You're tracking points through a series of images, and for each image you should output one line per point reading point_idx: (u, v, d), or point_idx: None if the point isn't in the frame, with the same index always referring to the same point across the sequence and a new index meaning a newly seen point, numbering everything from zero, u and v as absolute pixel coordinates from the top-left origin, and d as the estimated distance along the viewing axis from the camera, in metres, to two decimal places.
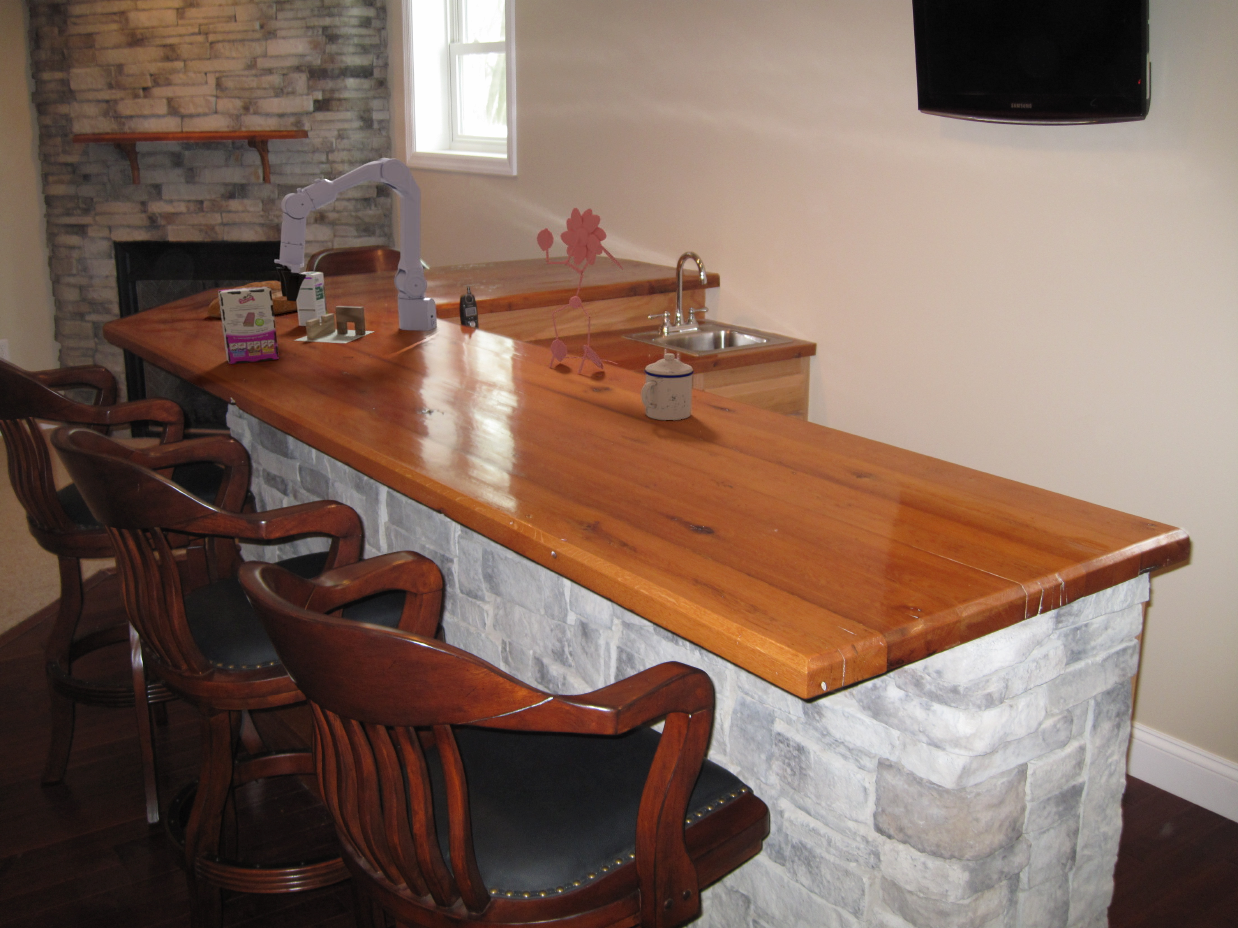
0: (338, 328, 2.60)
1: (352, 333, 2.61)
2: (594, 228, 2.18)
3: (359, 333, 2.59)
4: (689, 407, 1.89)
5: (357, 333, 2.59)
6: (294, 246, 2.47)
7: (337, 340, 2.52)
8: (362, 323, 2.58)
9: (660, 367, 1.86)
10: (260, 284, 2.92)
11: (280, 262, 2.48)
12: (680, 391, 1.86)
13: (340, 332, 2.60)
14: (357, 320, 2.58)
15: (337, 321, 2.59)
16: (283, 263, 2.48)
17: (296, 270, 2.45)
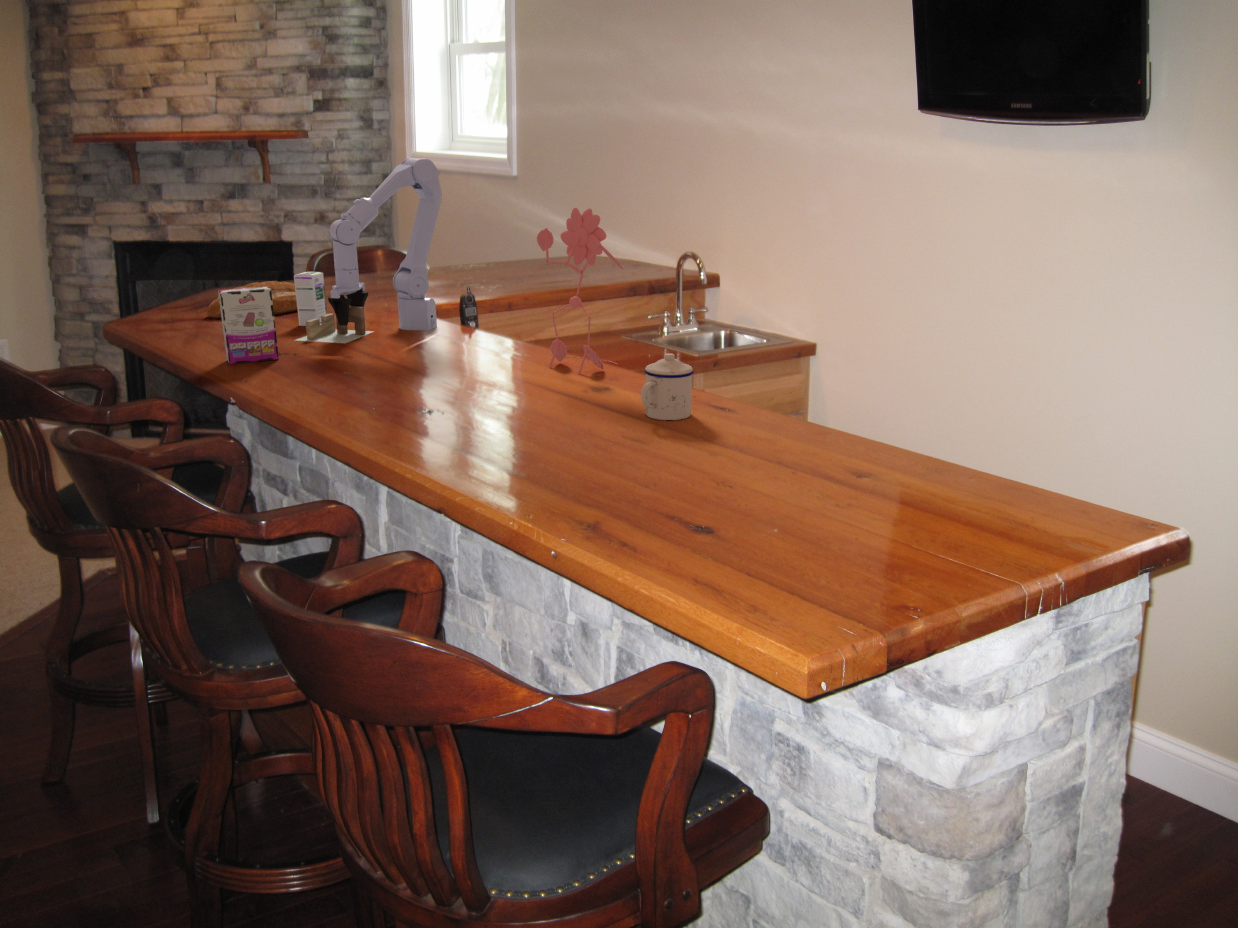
0: (338, 328, 2.60)
1: (352, 333, 2.61)
2: (594, 228, 2.18)
3: (359, 333, 2.59)
4: (689, 407, 1.89)
5: (357, 333, 2.59)
6: (341, 272, 2.53)
7: (337, 340, 2.52)
8: (362, 323, 2.58)
9: (660, 367, 1.86)
10: (260, 284, 2.92)
11: (335, 288, 2.56)
12: (680, 391, 1.86)
13: (340, 332, 2.60)
14: (357, 320, 2.58)
15: (337, 321, 2.59)
16: (334, 289, 2.55)
17: (334, 296, 2.50)
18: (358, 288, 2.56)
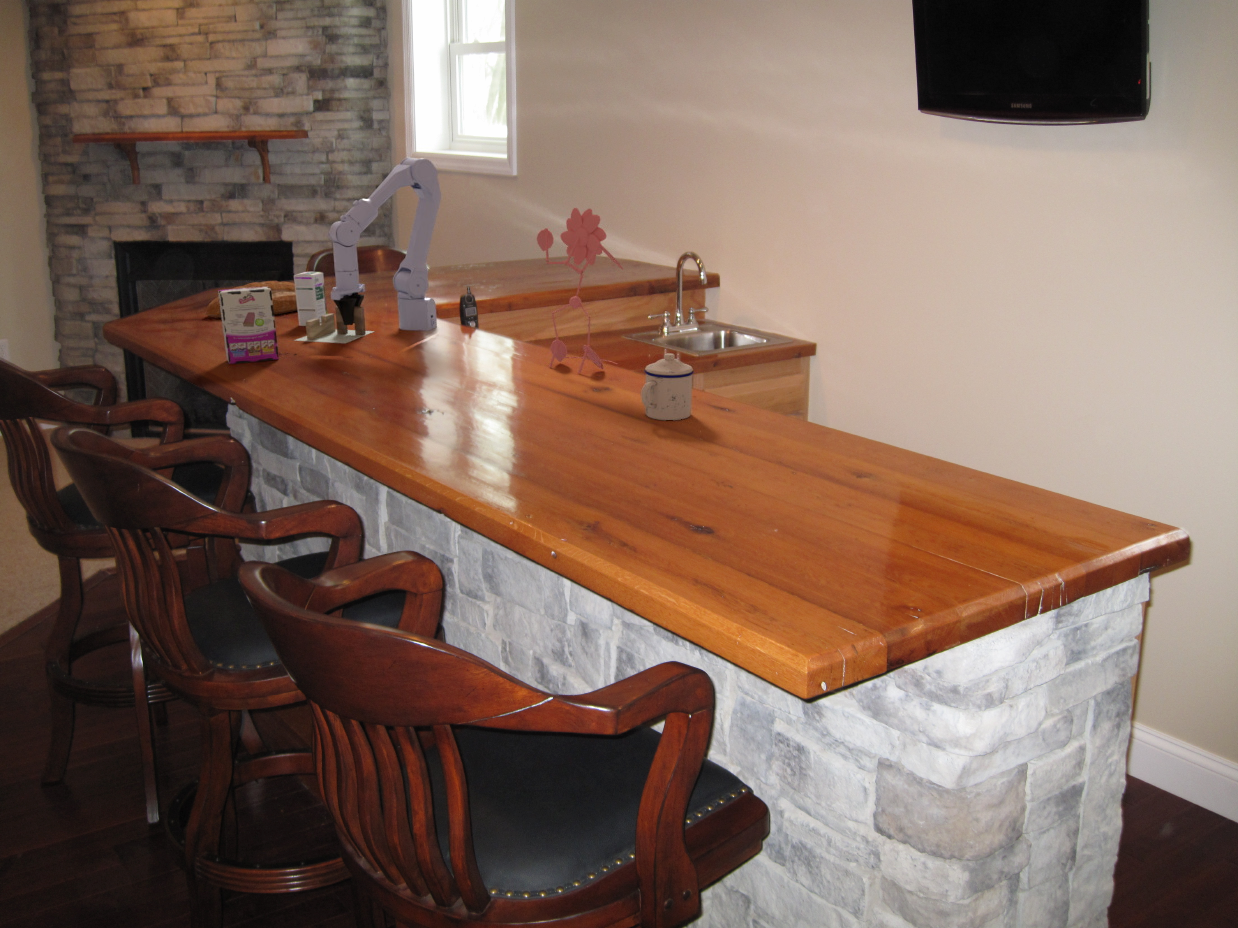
0: (338, 328, 2.60)
1: (352, 333, 2.61)
2: (594, 228, 2.18)
3: (359, 333, 2.59)
4: (689, 407, 1.89)
5: (357, 333, 2.59)
6: (341, 273, 2.53)
7: (337, 340, 2.52)
8: (362, 323, 2.58)
9: (660, 367, 1.86)
10: (259, 284, 2.92)
11: (335, 289, 2.56)
12: (680, 391, 1.86)
13: (340, 332, 2.60)
14: (357, 320, 2.58)
15: (337, 321, 2.59)
16: None
17: (335, 297, 2.50)
18: (358, 289, 2.56)
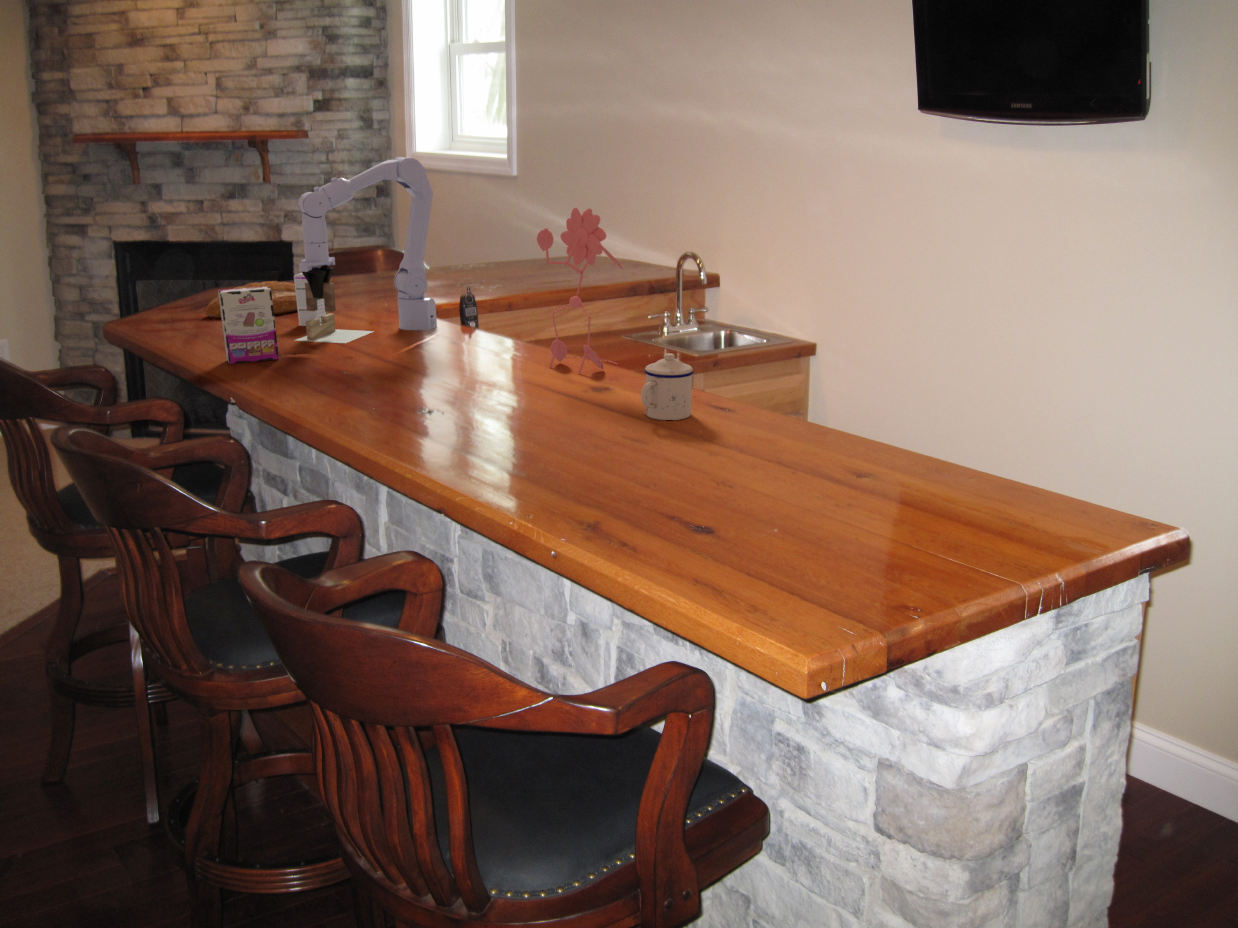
0: (307, 304, 2.56)
1: (352, 333, 2.61)
2: (594, 228, 2.18)
3: (329, 309, 2.55)
4: (689, 407, 1.89)
5: (327, 309, 2.55)
6: (310, 245, 2.49)
7: (337, 340, 2.52)
8: (332, 299, 2.55)
9: (660, 367, 1.86)
10: (259, 284, 2.92)
11: None
12: (680, 391, 1.86)
13: (309, 308, 2.56)
14: (326, 296, 2.54)
15: (306, 297, 2.56)
16: None
17: (303, 269, 2.46)
18: (327, 262, 2.52)
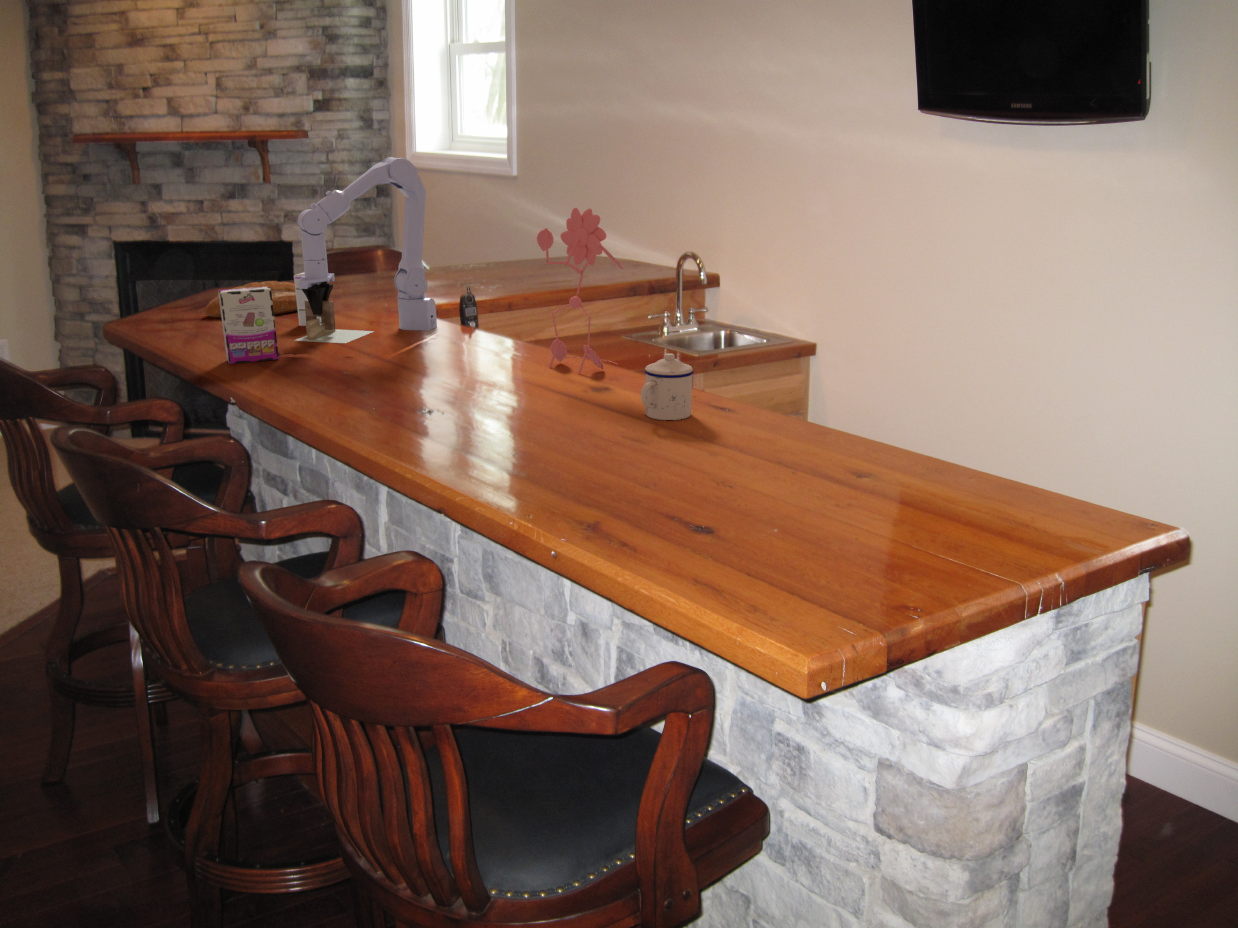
0: None
1: (352, 333, 2.61)
2: (594, 228, 2.18)
3: (328, 328, 2.56)
4: (689, 407, 1.89)
5: (326, 327, 2.57)
6: (309, 262, 2.50)
7: (337, 340, 2.52)
8: (331, 317, 2.56)
9: (660, 367, 1.86)
10: (259, 284, 2.92)
11: (303, 278, 2.53)
12: (680, 391, 1.86)
13: None
14: (326, 315, 2.56)
15: (306, 315, 2.57)
16: None
17: (302, 286, 2.48)
18: (327, 279, 2.53)
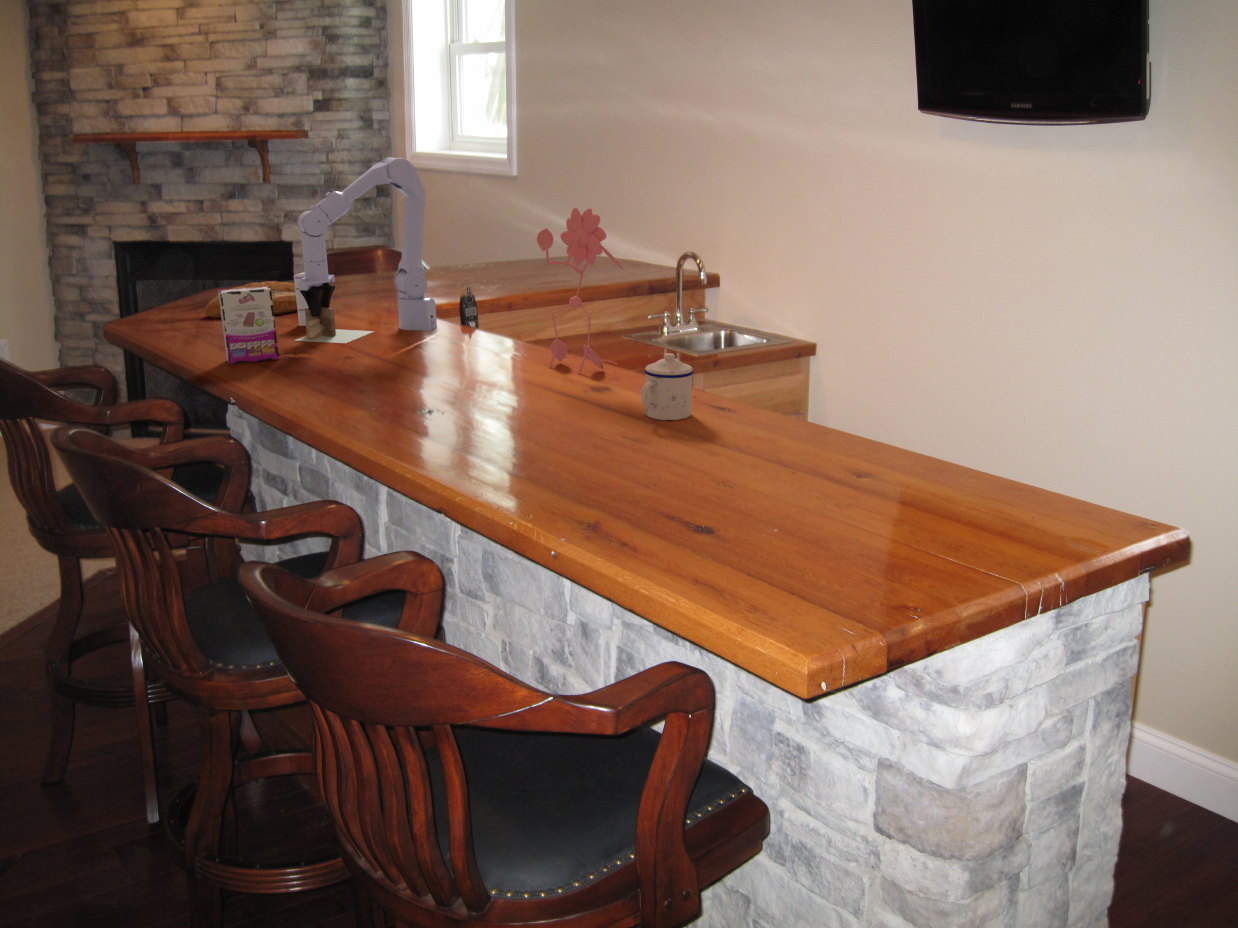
0: None
1: (352, 333, 2.61)
2: (594, 228, 2.18)
3: (329, 334, 2.57)
4: (689, 407, 1.89)
5: (327, 334, 2.57)
6: (309, 263, 2.50)
7: (337, 340, 2.52)
8: (332, 324, 2.57)
9: (660, 367, 1.86)
10: (259, 284, 2.92)
11: None
12: (681, 391, 1.86)
13: None
14: (326, 322, 2.56)
15: None
16: None
17: (302, 288, 2.48)
18: (327, 280, 2.53)
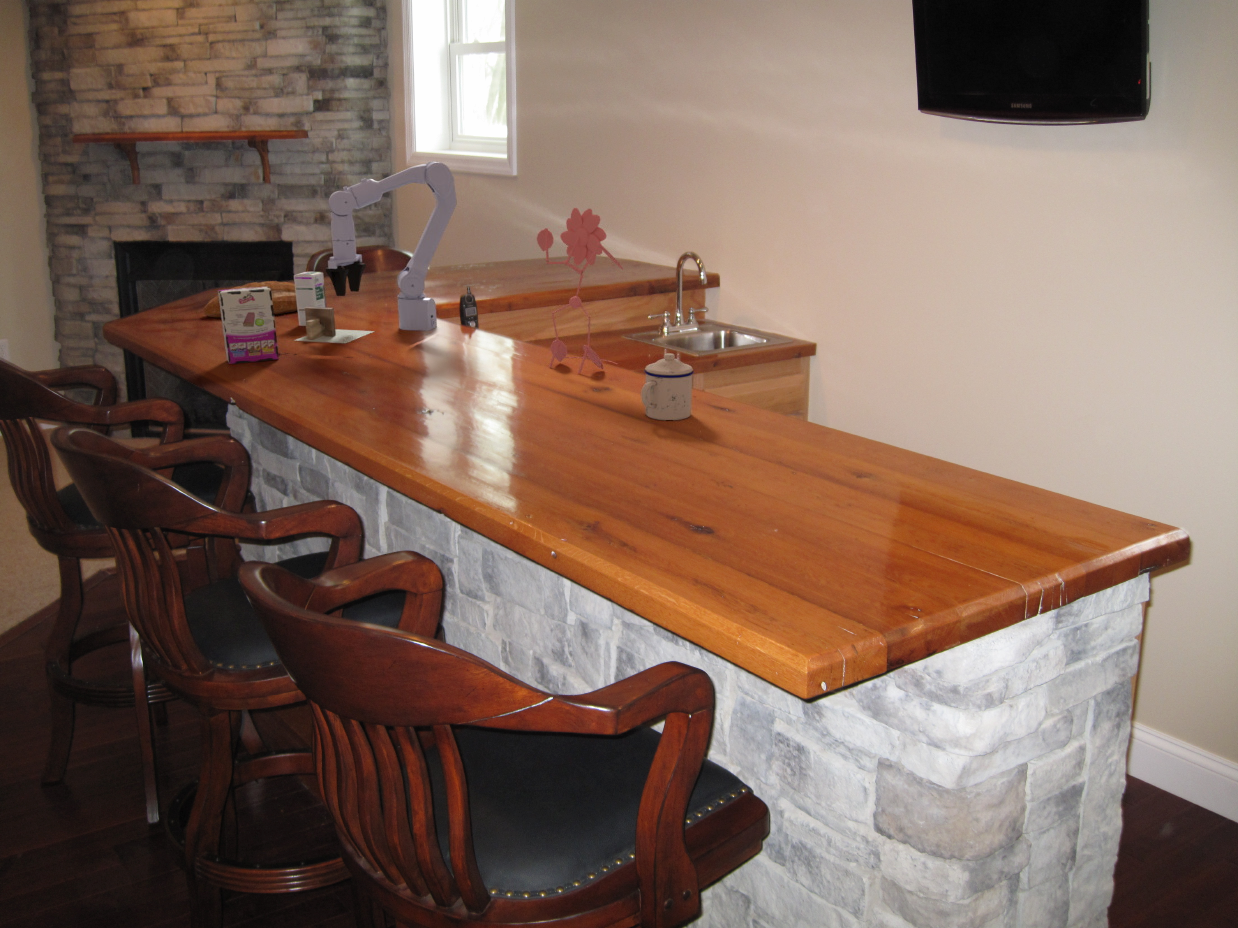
0: None
1: (352, 333, 2.61)
2: (594, 228, 2.18)
3: (329, 334, 2.57)
4: (689, 407, 1.89)
5: (327, 334, 2.57)
6: (338, 242, 2.55)
7: (337, 340, 2.52)
8: (332, 324, 2.57)
9: (660, 367, 1.86)
10: (258, 284, 2.92)
11: None
12: (680, 391, 1.86)
13: None
14: (326, 322, 2.56)
15: None
16: (332, 260, 2.58)
17: (332, 266, 2.53)
18: (355, 259, 2.59)
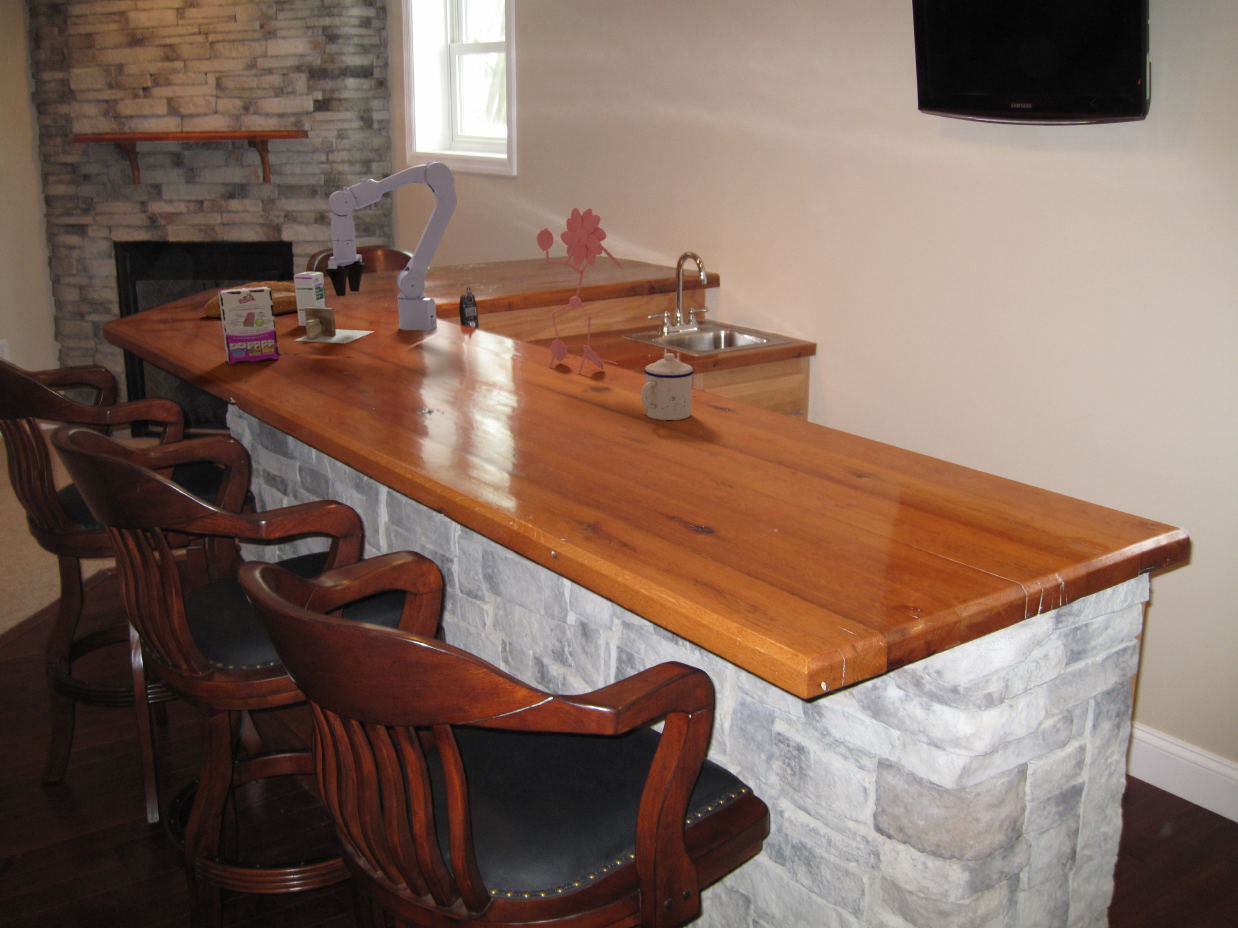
0: None
1: (352, 333, 2.61)
2: (594, 228, 2.18)
3: (329, 334, 2.57)
4: (689, 407, 1.89)
5: (327, 334, 2.57)
6: (338, 242, 2.55)
7: (337, 340, 2.52)
8: (332, 324, 2.57)
9: (660, 367, 1.86)
10: (258, 284, 2.92)
11: None
12: (680, 391, 1.86)
13: None
14: (326, 322, 2.56)
15: None
16: (332, 260, 2.58)
17: (332, 266, 2.53)
18: (355, 259, 2.59)
